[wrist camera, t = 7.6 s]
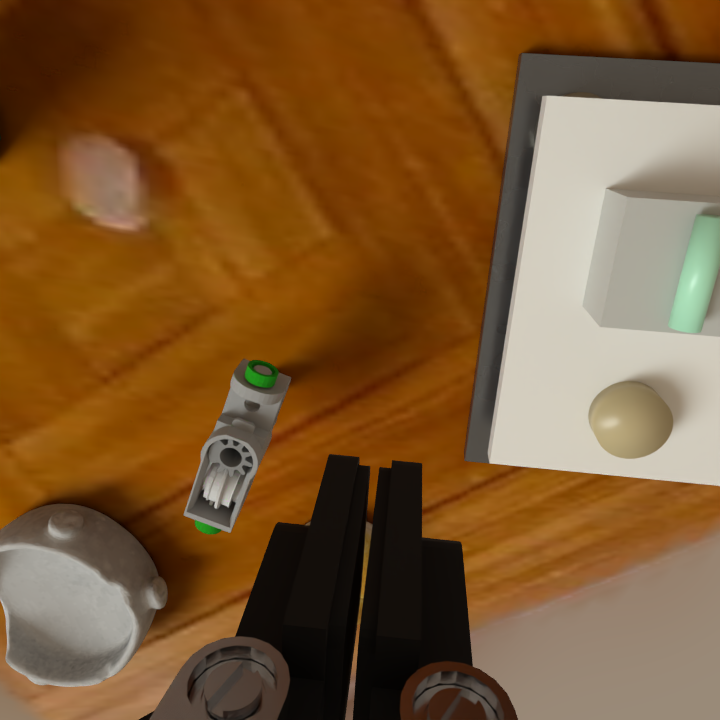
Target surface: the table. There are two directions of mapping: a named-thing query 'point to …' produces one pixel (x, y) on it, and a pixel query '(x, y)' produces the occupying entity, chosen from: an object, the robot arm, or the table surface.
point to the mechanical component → (236, 446)
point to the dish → (74, 595)
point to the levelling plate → (555, 284)
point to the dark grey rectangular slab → (531, 84)
